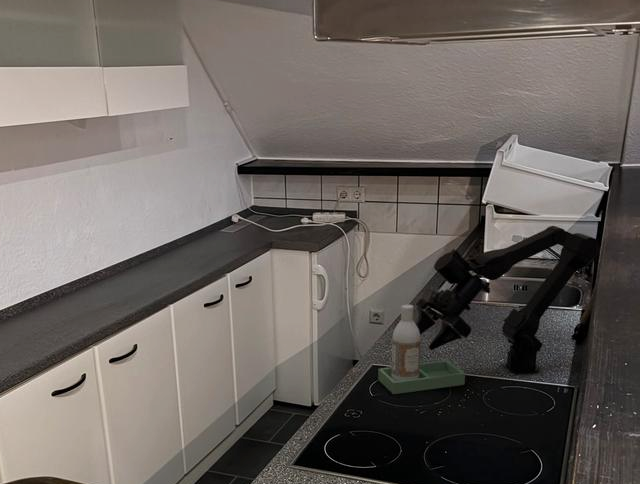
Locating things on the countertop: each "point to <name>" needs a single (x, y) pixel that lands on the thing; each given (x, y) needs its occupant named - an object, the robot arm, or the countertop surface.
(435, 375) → the tray
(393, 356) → the bath foam
